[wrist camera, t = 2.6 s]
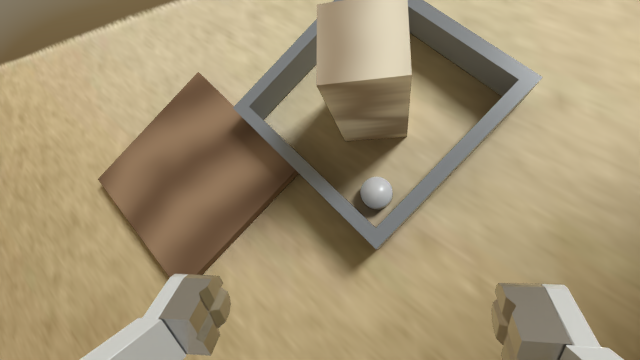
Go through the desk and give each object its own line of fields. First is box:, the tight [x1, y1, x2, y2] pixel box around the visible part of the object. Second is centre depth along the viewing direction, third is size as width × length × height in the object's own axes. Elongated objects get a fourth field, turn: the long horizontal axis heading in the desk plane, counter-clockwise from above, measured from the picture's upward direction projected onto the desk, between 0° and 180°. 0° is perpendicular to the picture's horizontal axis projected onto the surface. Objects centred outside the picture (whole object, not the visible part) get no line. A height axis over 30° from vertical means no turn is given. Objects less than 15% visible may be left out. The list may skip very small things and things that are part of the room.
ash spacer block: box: [316, 0, 412, 141], centre depth 22 cm, size 5×5×10 cm
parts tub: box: [233, 0, 542, 249], centre depth 26 cm, size 16×16×3 cm
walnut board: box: [98, 72, 298, 277], centre depth 29 cm, size 14×14×1 cm
